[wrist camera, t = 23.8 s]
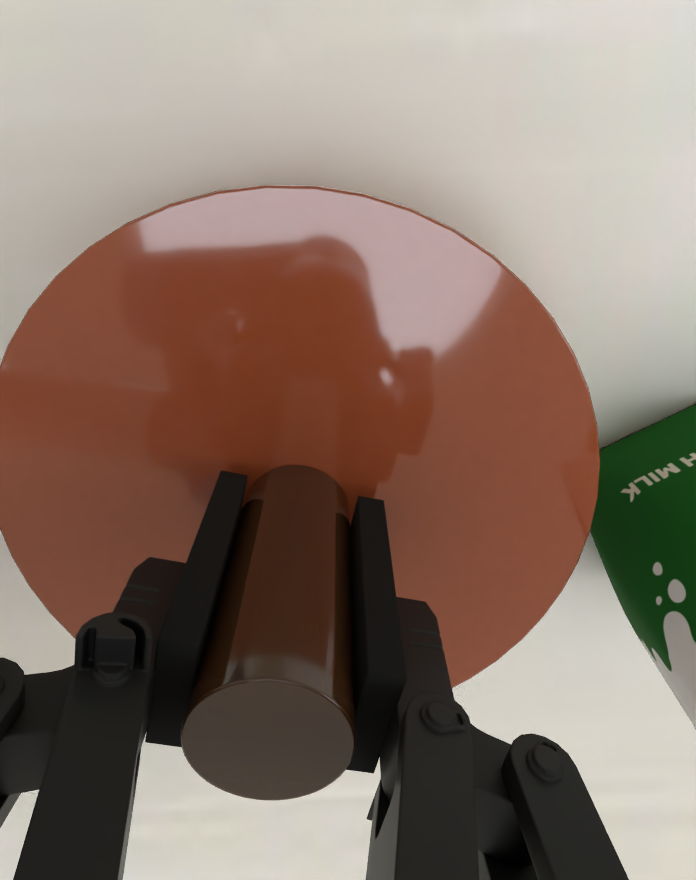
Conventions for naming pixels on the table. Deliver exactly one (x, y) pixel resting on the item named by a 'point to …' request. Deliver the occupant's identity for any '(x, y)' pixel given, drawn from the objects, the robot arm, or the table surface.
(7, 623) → the table surface
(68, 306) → the lid
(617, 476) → the milk carton
